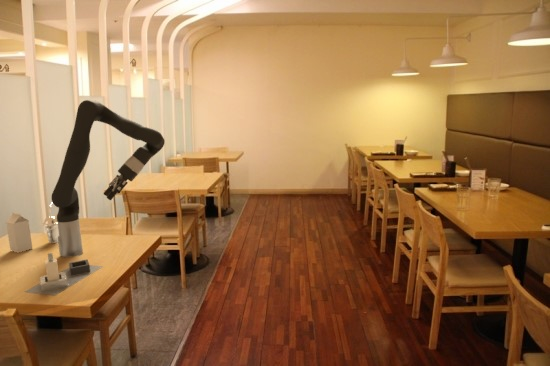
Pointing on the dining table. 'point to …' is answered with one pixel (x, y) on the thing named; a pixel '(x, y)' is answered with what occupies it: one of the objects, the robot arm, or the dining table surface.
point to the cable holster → (79, 267)
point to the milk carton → (18, 233)
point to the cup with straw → (51, 227)
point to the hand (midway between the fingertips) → (106, 197)
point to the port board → (70, 281)
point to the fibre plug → (52, 268)
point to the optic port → (53, 282)
